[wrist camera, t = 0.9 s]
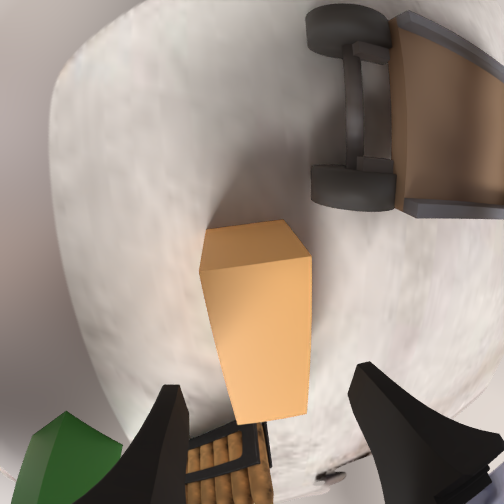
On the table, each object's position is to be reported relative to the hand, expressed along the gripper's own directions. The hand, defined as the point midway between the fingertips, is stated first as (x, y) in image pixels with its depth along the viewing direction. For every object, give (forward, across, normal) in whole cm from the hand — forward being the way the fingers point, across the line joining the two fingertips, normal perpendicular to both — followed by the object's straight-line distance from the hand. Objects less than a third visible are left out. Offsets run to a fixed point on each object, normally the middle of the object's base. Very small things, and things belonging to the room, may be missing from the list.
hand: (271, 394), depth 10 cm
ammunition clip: (+7, +4, +15) cm, 17 cm away
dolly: (+6, -11, -11) cm, 17 cm away
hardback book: (+7, +24, +21) cm, 33 cm away
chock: (+7, 0, 0) cm, 7 cm away
